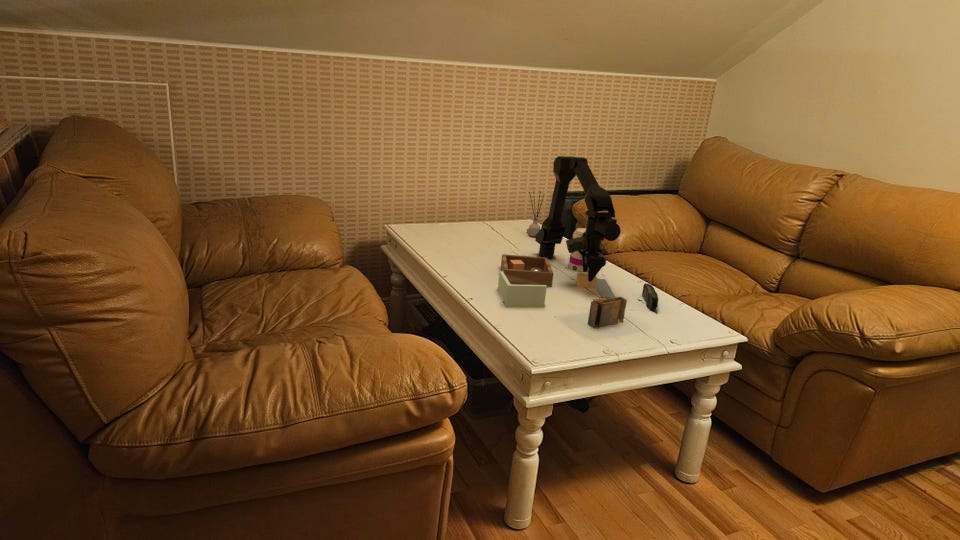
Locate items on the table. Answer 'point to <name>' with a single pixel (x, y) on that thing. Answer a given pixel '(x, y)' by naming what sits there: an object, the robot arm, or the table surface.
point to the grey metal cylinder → (536, 269)
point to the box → (528, 270)
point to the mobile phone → (650, 297)
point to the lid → (595, 285)
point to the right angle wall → (521, 293)
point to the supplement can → (577, 254)
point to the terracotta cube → (516, 265)
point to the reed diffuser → (534, 220)
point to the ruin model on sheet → (607, 311)
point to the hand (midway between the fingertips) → (587, 276)
